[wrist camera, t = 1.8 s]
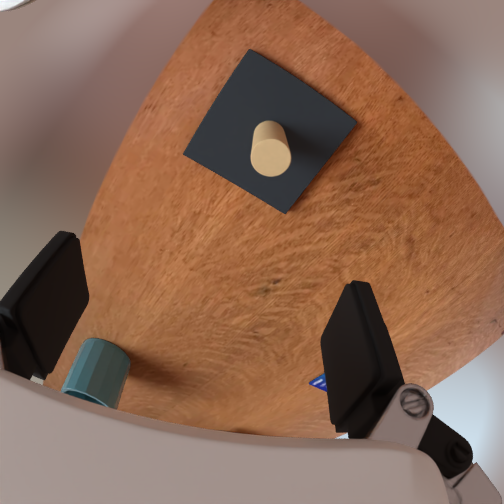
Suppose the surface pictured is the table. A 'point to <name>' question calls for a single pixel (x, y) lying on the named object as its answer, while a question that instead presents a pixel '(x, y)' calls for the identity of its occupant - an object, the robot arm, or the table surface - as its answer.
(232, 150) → the plate with wooden peg
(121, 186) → the table surface
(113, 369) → the cup
